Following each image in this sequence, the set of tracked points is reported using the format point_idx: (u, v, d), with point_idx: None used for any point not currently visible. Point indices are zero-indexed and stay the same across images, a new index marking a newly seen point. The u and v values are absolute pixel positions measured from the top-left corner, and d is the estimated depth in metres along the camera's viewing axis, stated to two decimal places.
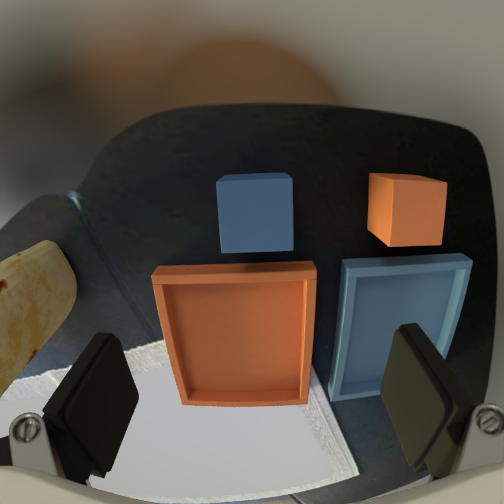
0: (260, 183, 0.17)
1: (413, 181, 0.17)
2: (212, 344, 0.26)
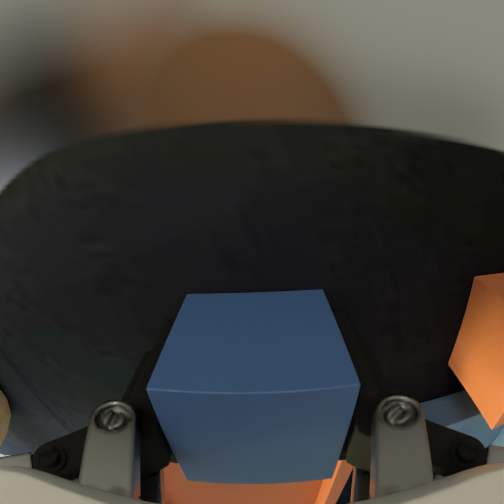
0: (269, 400, 0.06)
1: None
2: (194, 490, 0.14)
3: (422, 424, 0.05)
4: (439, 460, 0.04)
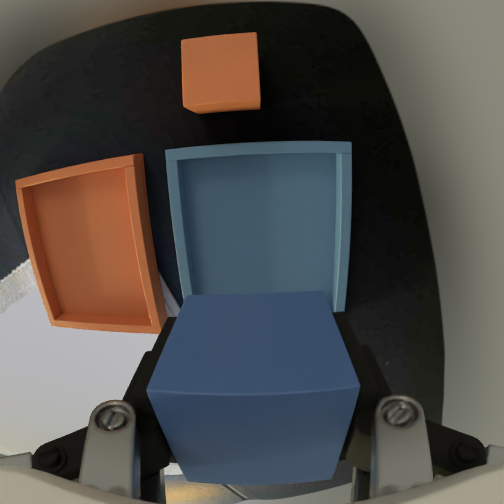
0: (268, 401, 0.06)
1: (207, 37, 0.14)
2: (67, 254, 0.23)
3: (422, 424, 0.05)
4: (439, 460, 0.04)
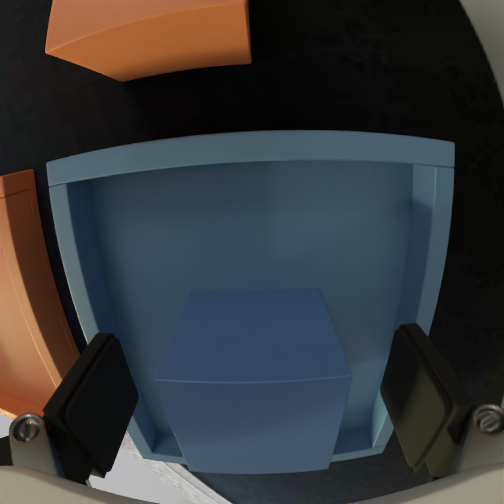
0: (267, 389, 0.06)
1: None
2: None
3: None
4: None
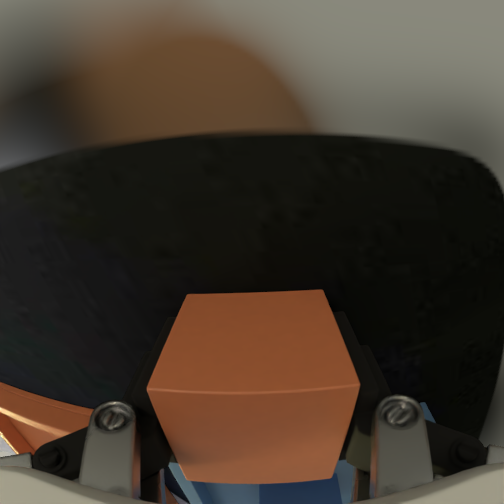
0: None
1: (218, 395, 0.06)
2: None
3: (422, 424, 0.05)
4: (439, 460, 0.04)
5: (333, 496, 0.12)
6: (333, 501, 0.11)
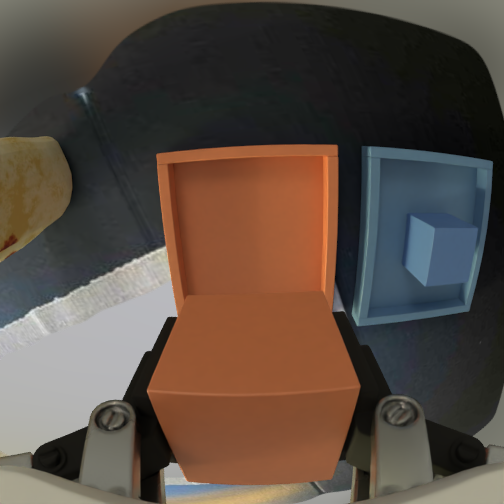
0: (460, 230, 0.18)
1: (218, 397, 0.06)
2: (220, 247, 0.23)
3: (422, 424, 0.05)
4: (439, 460, 0.04)
5: (455, 218, 0.20)
6: (457, 219, 0.20)
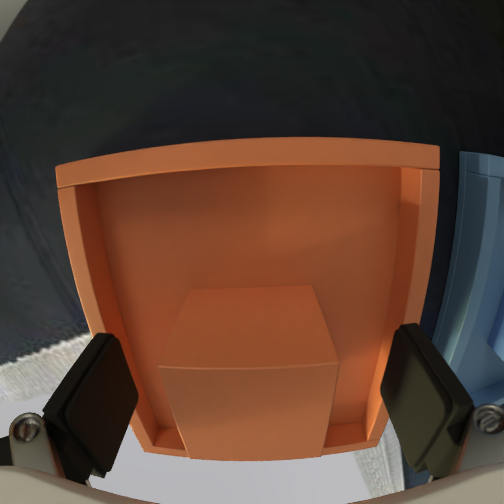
0: None
1: (219, 370, 0.07)
2: None
3: None
4: None
5: None
6: None
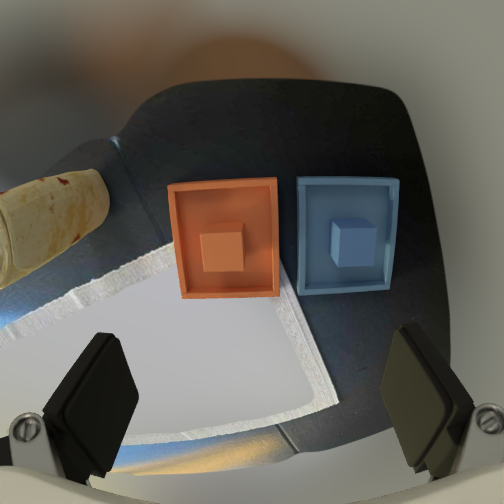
0: (361, 230, 0.32)
1: (214, 233, 0.32)
2: None
3: None
4: None
5: (365, 221, 0.34)
6: (366, 222, 0.34)
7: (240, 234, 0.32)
